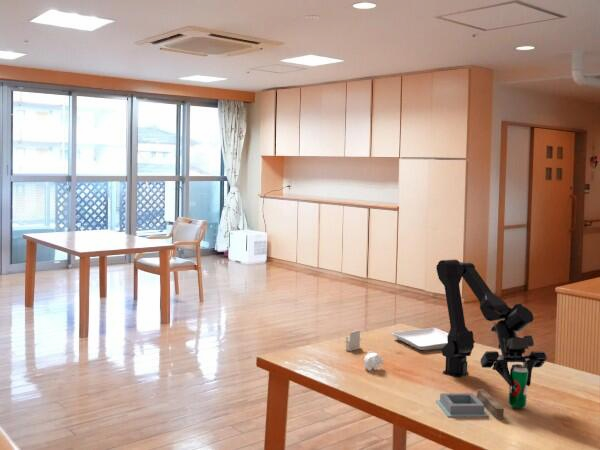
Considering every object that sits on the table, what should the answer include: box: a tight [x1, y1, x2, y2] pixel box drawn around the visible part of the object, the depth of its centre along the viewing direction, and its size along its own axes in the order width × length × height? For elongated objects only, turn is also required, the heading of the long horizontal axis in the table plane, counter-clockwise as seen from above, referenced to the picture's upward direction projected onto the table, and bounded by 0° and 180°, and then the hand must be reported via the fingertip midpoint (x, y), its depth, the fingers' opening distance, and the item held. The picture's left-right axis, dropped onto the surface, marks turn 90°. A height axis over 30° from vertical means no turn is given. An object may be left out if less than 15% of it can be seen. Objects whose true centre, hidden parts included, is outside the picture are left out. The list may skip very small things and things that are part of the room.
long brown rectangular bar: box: [476, 388, 505, 420], centre depth 196 cm, size 16×2×3 cm, turn 5°
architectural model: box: [343, 329, 362, 352], centre depth 255 cm, size 3×7×7 cm, turn 133°
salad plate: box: [391, 327, 449, 351], centre depth 264 cm, size 21×21×3 cm
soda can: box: [507, 363, 528, 409], centre depth 196 cm, size 5×5×12 cm
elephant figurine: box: [362, 350, 384, 372], centre depth 230 cm, size 7×8×6 cm
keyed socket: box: [435, 392, 489, 418], centre depth 195 cm, size 12×12×3 cm
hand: (520, 385), depth 195 cm, fingers closed on soda can, 5 cm apart
